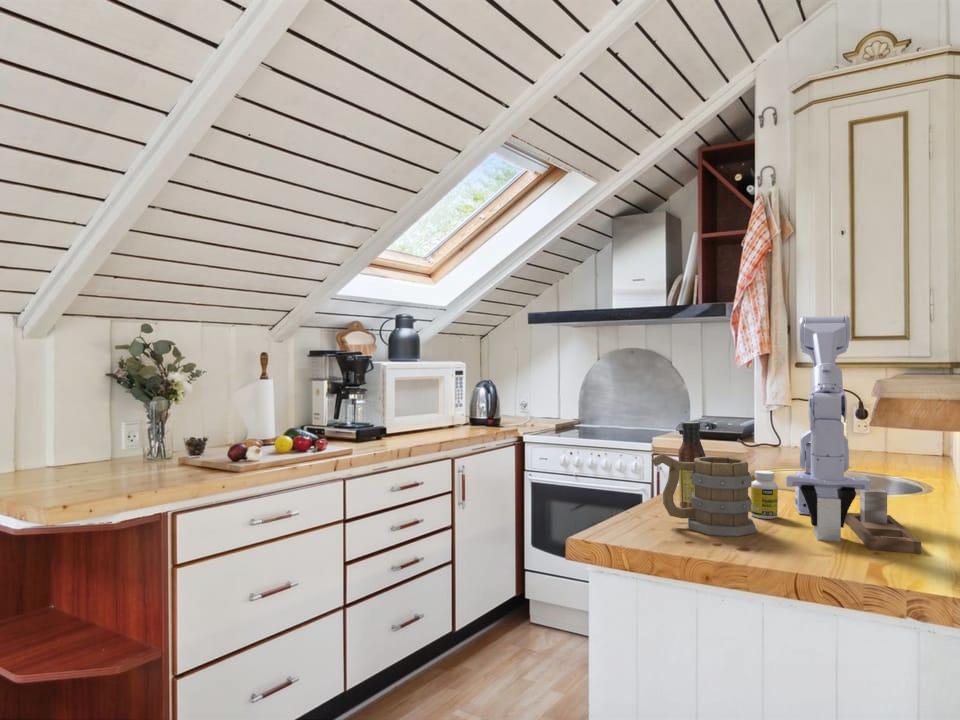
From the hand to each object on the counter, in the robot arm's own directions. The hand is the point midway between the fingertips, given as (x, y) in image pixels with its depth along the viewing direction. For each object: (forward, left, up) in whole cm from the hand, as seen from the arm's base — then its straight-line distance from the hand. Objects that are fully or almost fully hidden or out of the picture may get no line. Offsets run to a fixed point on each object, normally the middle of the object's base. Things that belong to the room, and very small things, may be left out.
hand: (827, 525), depth 135 cm
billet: (0, 0, -2) cm, 2 cm away
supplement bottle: (-10, +16, -3) cm, 19 cm away
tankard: (-23, +2, -3) cm, 23 cm away
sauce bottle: (-25, +20, -3) cm, 32 cm away
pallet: (+10, +5, -2) cm, 11 cm away
